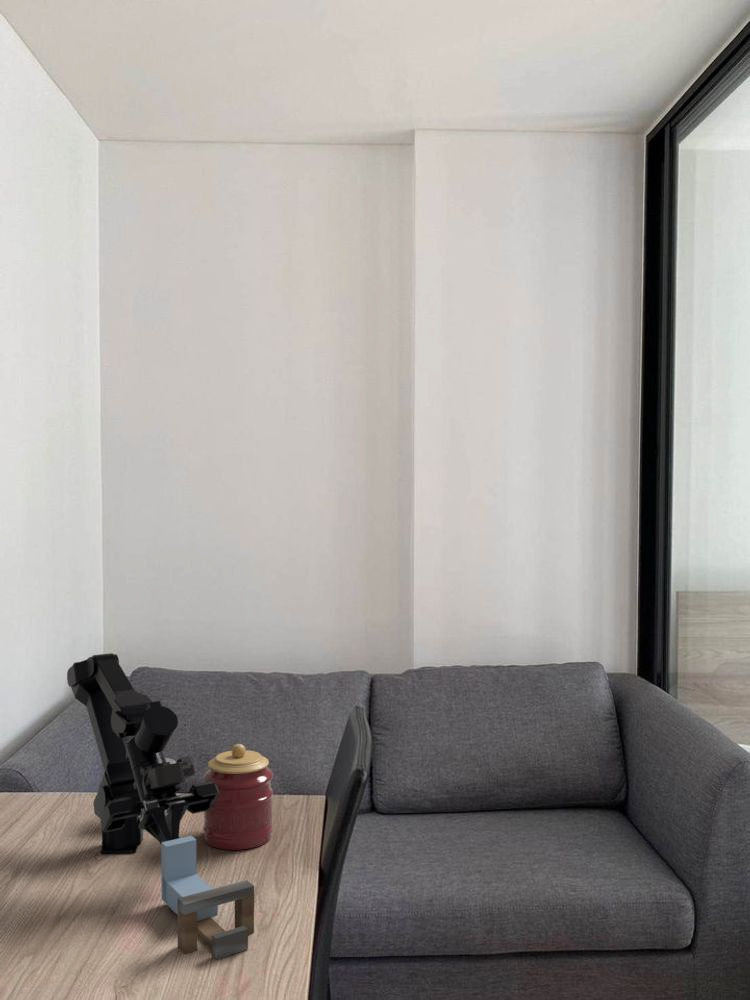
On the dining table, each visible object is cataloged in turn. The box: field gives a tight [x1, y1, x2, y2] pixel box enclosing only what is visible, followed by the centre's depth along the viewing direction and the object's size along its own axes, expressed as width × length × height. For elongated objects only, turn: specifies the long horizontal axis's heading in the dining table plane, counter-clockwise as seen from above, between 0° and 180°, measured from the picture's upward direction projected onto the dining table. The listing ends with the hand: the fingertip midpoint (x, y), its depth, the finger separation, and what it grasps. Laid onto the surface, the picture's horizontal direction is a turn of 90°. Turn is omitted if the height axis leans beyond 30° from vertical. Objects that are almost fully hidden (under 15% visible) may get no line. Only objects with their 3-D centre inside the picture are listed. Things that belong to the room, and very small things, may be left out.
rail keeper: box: [177, 879, 255, 960], centre depth 138 cm, size 18×11×7 cm, turn 34°
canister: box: [202, 743, 274, 851], centre depth 173 cm, size 13×13×18 cm
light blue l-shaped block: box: [161, 835, 219, 921], centre depth 143 cm, size 10×5×9 cm, turn 34°
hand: (175, 853), depth 148 cm, fingers closed
